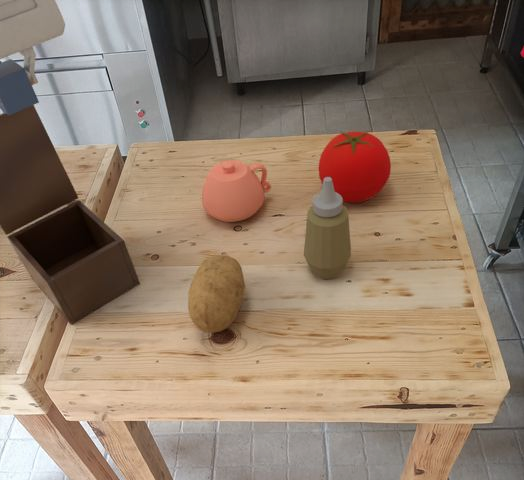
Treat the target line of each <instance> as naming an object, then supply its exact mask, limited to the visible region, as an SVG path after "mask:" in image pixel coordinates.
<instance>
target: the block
mask: <svg viewBox="0 0 524 480" xmlns="http://www.w3.org/2000/svg"><path fill="white" fill-rule="evenodd" d="M39 103H40V100H39V99H38V97H37V94H36V92H35V90H34V87H33V85H31V82H30V80H29V78H28V75H27V73H26V71H25V69H24V66H22V65H20V64H19V63H18V62H16V61H14V60H13V59H12V58H10V59H7V60H4V61H2V62H0V110H1V111H3V113H6V114H7V115H11V114H13V113H16V112H18V111H20V110H23V109H25V108H27V107H30V106H32V105H34V106H35V105H36V104H39Z"/></svg>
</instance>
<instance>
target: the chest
mask: <svg viewBox="0 0 524 480" xmlns="http://www.w3.org/2000/svg"><path fill="white" fill-rule="evenodd" d="M7 239H8V241H9V243H10V244H11V246H12V248H13V250H14V251H15V252H16V254H17V256H18V257H19V260H20V262H22V264H23V266H24V268H25V269H26V271H27V273H28V275H29V277H30V278H31V279H32V280H33V282H34V283H35V284H36V286H38V288H39V289H40V290H41V292H43V294H44V295H45V296H46V297H47V298H48V299H49V301H50V302H51V303H52V304H53V306H54V307H55V308H56V309H57V310H58V312H59V313H60V314H61V315H62V316H63V317H64V319H65V320H66V321H67V322H68V323H69V324H70V325H71V326H72V325H73V324H75V323H77V322H79V321H80V320H82V319H84V318H85V317H87V316H89V315H90V314H92V313H93V312H95V311H97V310H99V309H100V308H102V307H104V306H105V305H107V304H109V303H110V302H112V301H114V300H116V299H117V298H119V297H120V296H122V295H124V294H125V293H126V292H128V291H130V290H132V289H133V288H135V287H137V286H139V285H140V284H141V282H140V280H139V276H138V275H137V272H136V271H137V270H136V269H135V266H134V263H133V261H132V258H131V256H130V252H129V249H128V248H127V245H126V242H125V240H124V239H123V238H122V237H121V236H120V235H119V234H118V233H117V232H115V231H114V230H113V229H112V228H111V227H109V225H107V223H106V222H105V221H103V220H102V219H101V218H99V217H98V215H96V214H95V213H94V212H93V211H92V210H91V209H90V208H88V207H87V206H86V204H84V203H83V202H82V201H81V200H80V199H77V200H75V201H73V202H71V203H69V204H67V205H65V206H63V207H61V208H59V209H57V210H55V211H53V212H51V213H49V214H47V215H45V216H43V217H41V218H39V219H38V220H37V221H34V222H33V223H30V224H28V225H26V226H24V227H22V228H20V229H18V230H16V231H14V232H12V234H11V233H10V234H8V236H7Z"/></svg>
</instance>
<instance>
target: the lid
mask: <svg viewBox="0 0 524 480" xmlns="http://www.w3.org/2000/svg"><path fill="white" fill-rule="evenodd" d="M77 200H79V196H78V193H77V191H76V190H75V187H74V186H73V183H72V181H71V179H70V177H69V176H68V173H67V171H66V168H65V167H64V164H63V162H62V161H61V159H60V156H59V155H58V152H57V150H56V148H55V146H54V144H53V142H52V140H51V137H50V136H49V134H48V132H47V129H46V127H45V126H44V123H43V121H42V119H41V117H40V115H39V113H38V111H37V109H36V107H35V104H34V105H32V106H30V107H27V108H25V109H23V110H20V111H18V112H16V113H13V114H11V115H7V114H6V113H5V112H2V113H0V228H1V231H3V233H4V234H5V235H10V234H11V233H14V232H16V231H18V230H20V229H22V228H24V227H26V226H28V225H30V224H32V222H33V223H34V222H36V220H37V221H38V220H40V219H42V218H43V217H45V216H47V215H49V214H51V213H53V212H55V211H57V210H59V209H61V208H63V207H65V206H67V205H69V204H71V203H73V202H75V201H77Z"/></svg>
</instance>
